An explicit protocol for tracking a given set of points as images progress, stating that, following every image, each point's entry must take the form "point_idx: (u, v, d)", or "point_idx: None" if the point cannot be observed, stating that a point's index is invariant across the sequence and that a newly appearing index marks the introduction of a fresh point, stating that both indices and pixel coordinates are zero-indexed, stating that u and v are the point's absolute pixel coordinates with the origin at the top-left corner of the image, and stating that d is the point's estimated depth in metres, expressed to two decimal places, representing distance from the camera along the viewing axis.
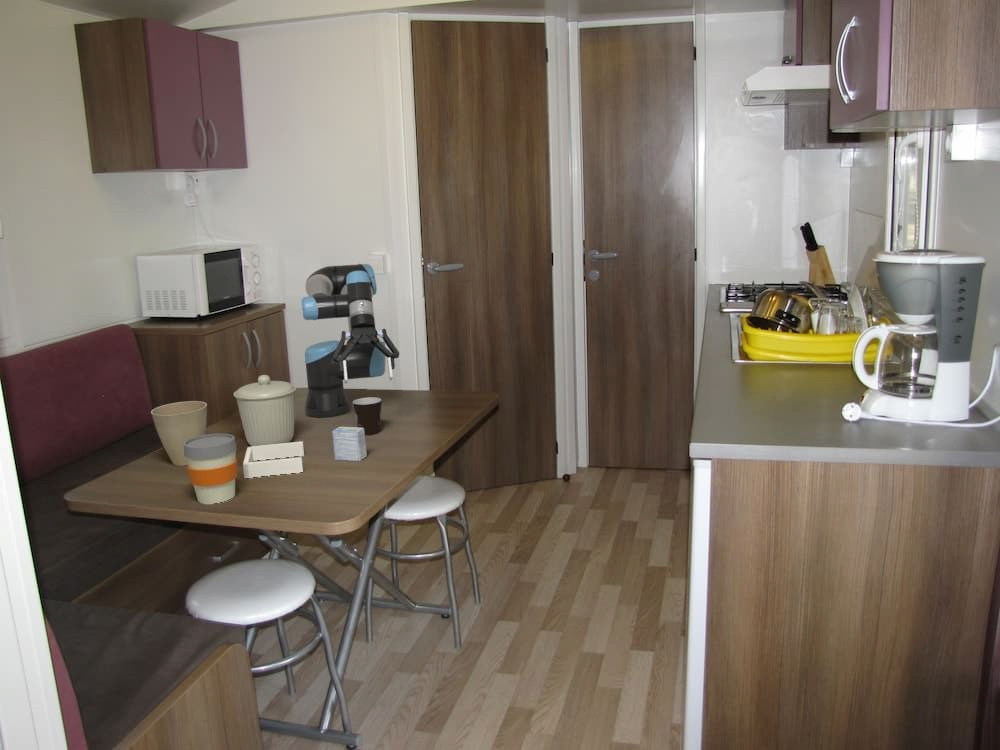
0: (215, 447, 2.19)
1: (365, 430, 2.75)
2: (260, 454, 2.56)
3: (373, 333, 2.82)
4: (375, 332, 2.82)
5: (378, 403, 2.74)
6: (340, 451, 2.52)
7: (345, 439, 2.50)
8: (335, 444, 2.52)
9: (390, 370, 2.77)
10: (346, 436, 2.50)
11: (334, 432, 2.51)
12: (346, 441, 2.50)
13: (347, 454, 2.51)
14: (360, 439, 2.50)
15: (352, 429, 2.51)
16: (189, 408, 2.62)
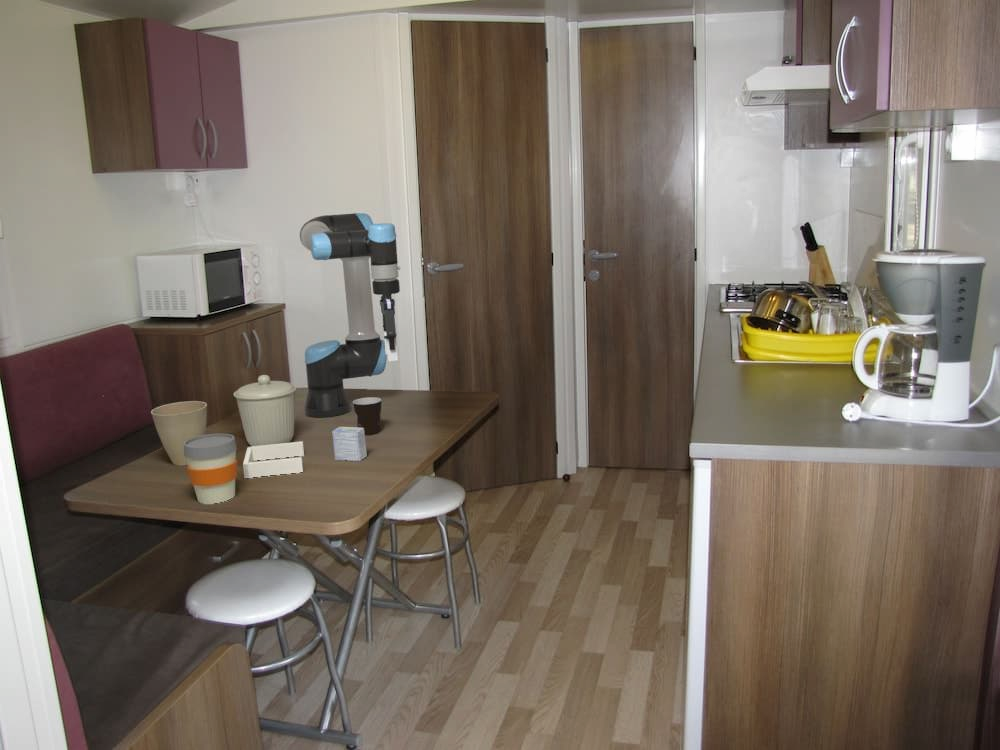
0: (215, 447, 2.19)
1: (365, 430, 2.75)
2: (260, 454, 2.56)
3: None
4: None
5: (378, 403, 2.74)
6: (340, 451, 2.52)
7: (345, 439, 2.50)
8: (335, 444, 2.52)
9: None
10: (346, 436, 2.50)
11: (334, 432, 2.51)
12: (346, 441, 2.50)
13: (347, 454, 2.51)
14: (360, 439, 2.50)
15: (352, 429, 2.51)
16: (189, 408, 2.62)
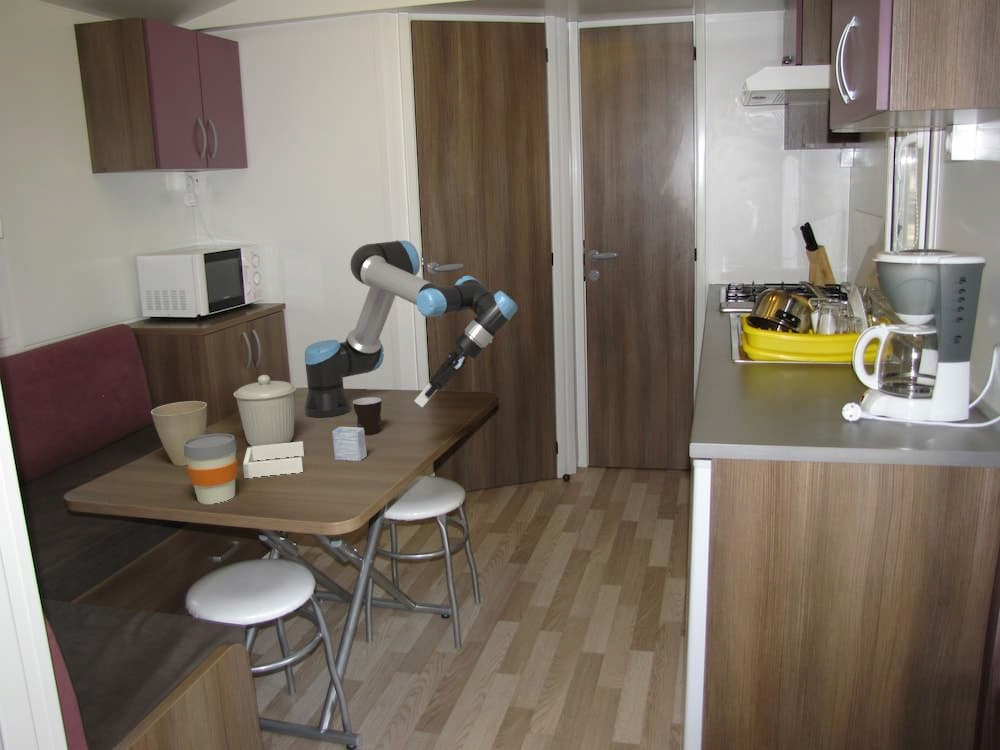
0: (215, 447, 2.19)
1: (365, 430, 2.75)
2: (260, 454, 2.56)
3: None
4: None
5: (378, 403, 2.74)
6: (340, 451, 2.52)
7: (345, 439, 2.50)
8: (335, 444, 2.52)
9: None
10: (346, 436, 2.50)
11: (334, 432, 2.51)
12: (346, 441, 2.50)
13: (347, 454, 2.51)
14: (360, 439, 2.50)
15: (352, 429, 2.51)
16: (189, 408, 2.62)
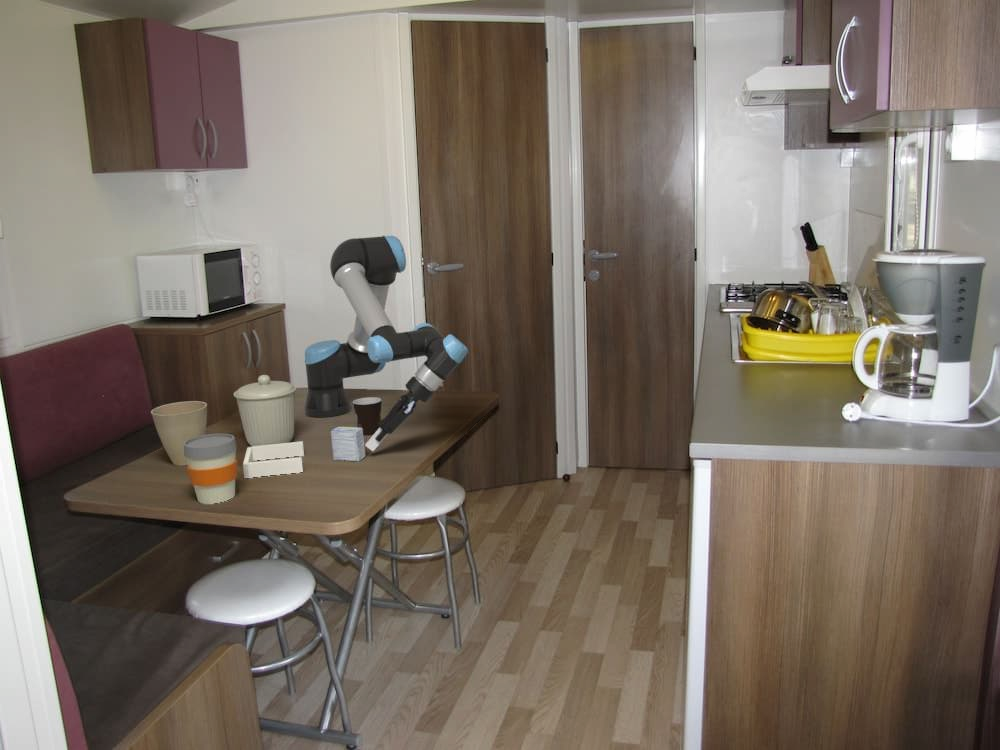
0: (215, 447, 2.19)
1: (365, 430, 2.75)
2: (260, 454, 2.56)
3: None
4: None
5: (378, 403, 2.74)
6: (338, 451, 2.52)
7: (344, 439, 2.50)
8: (334, 444, 2.52)
9: None
10: (345, 436, 2.50)
11: (333, 432, 2.51)
12: (345, 441, 2.50)
13: (346, 454, 2.51)
14: (358, 439, 2.50)
15: (351, 429, 2.51)
16: (189, 408, 2.62)
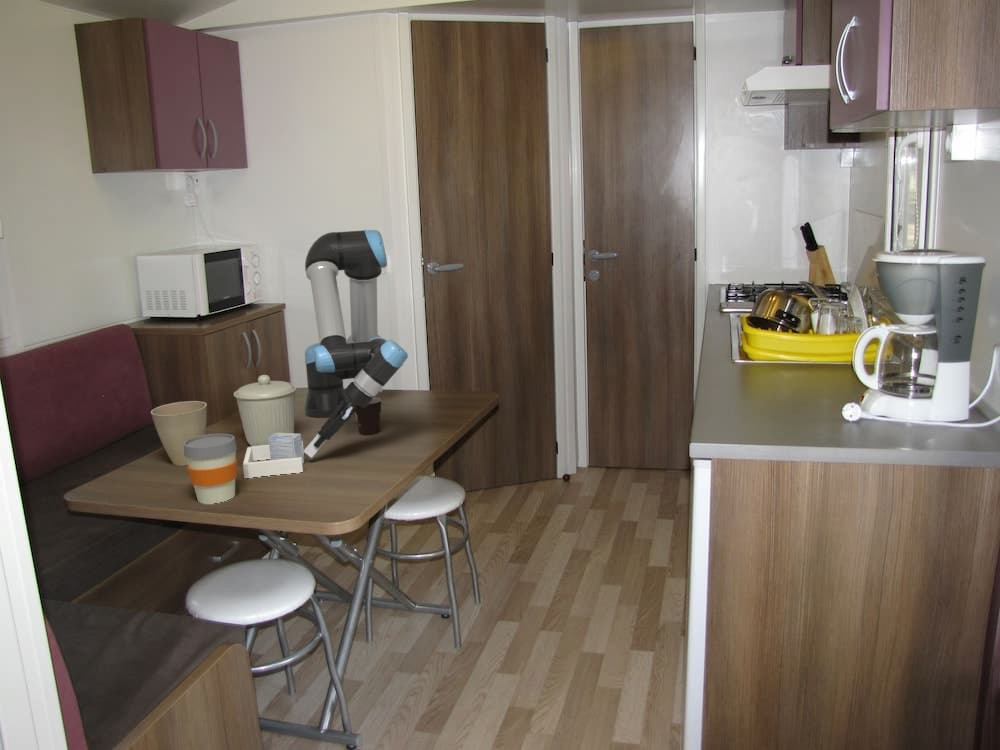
0: (215, 447, 2.19)
1: (365, 430, 2.75)
2: (260, 454, 2.56)
3: None
4: None
5: (378, 403, 2.74)
6: (276, 457, 2.49)
7: (281, 445, 2.47)
8: (271, 450, 2.49)
9: (316, 450, 2.51)
10: (282, 442, 2.47)
11: (270, 438, 2.48)
12: (282, 447, 2.47)
13: None
14: (296, 445, 2.47)
15: (288, 435, 2.48)
16: (189, 408, 2.62)
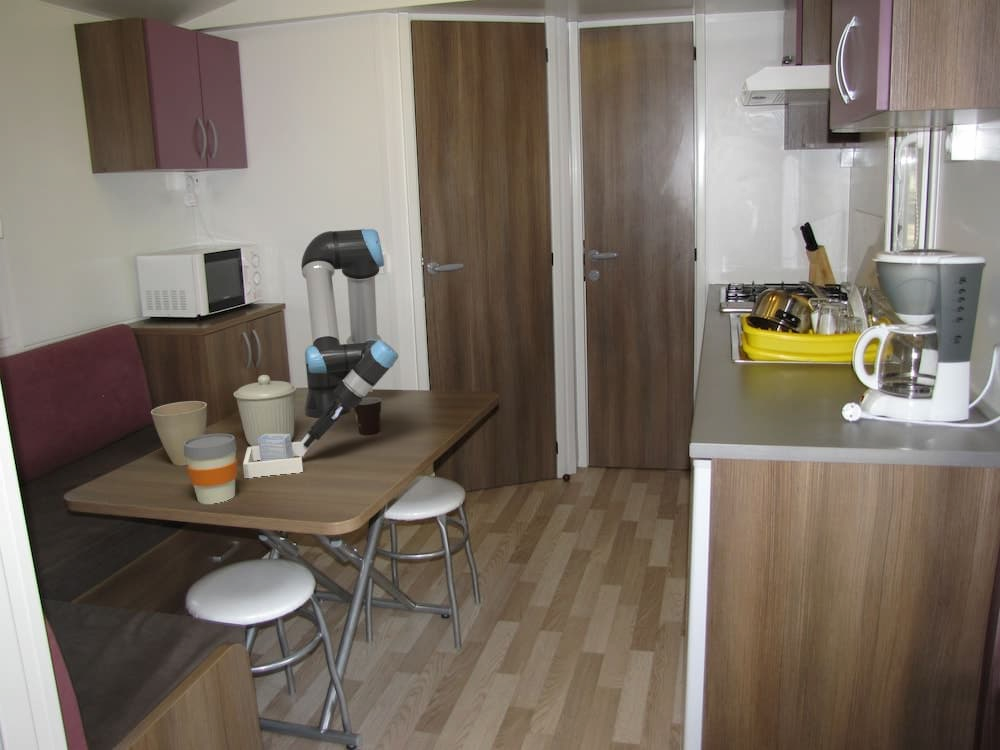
0: (215, 447, 2.19)
1: (365, 430, 2.75)
2: None
3: None
4: None
5: (378, 403, 2.74)
6: (266, 458, 2.48)
7: (272, 446, 2.47)
8: (261, 451, 2.48)
9: None
10: (273, 443, 2.47)
11: (260, 439, 2.47)
12: (273, 448, 2.47)
13: None
14: (287, 446, 2.48)
15: (278, 435, 2.48)
16: (189, 408, 2.62)
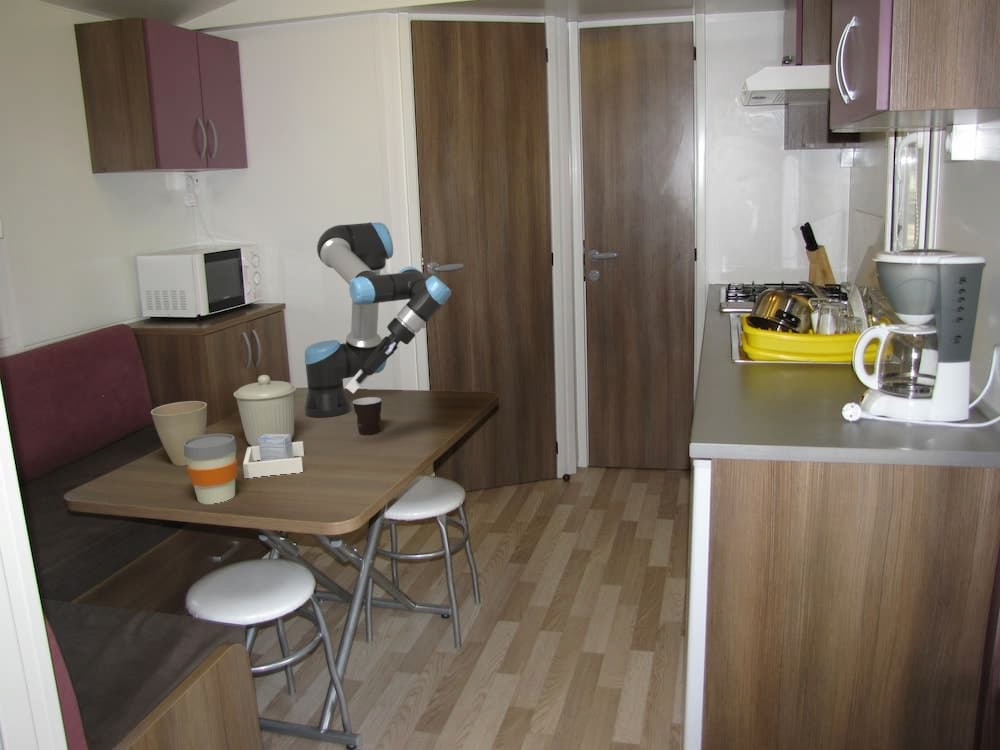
0: (215, 447, 2.19)
1: (365, 430, 2.75)
2: None
3: None
4: None
5: (378, 403, 2.74)
6: (266, 458, 2.48)
7: (272, 446, 2.47)
8: (261, 452, 2.48)
9: None
10: (273, 443, 2.47)
11: (260, 440, 2.47)
12: (273, 448, 2.47)
13: None
14: (287, 446, 2.48)
15: (278, 436, 2.48)
16: (189, 408, 2.62)
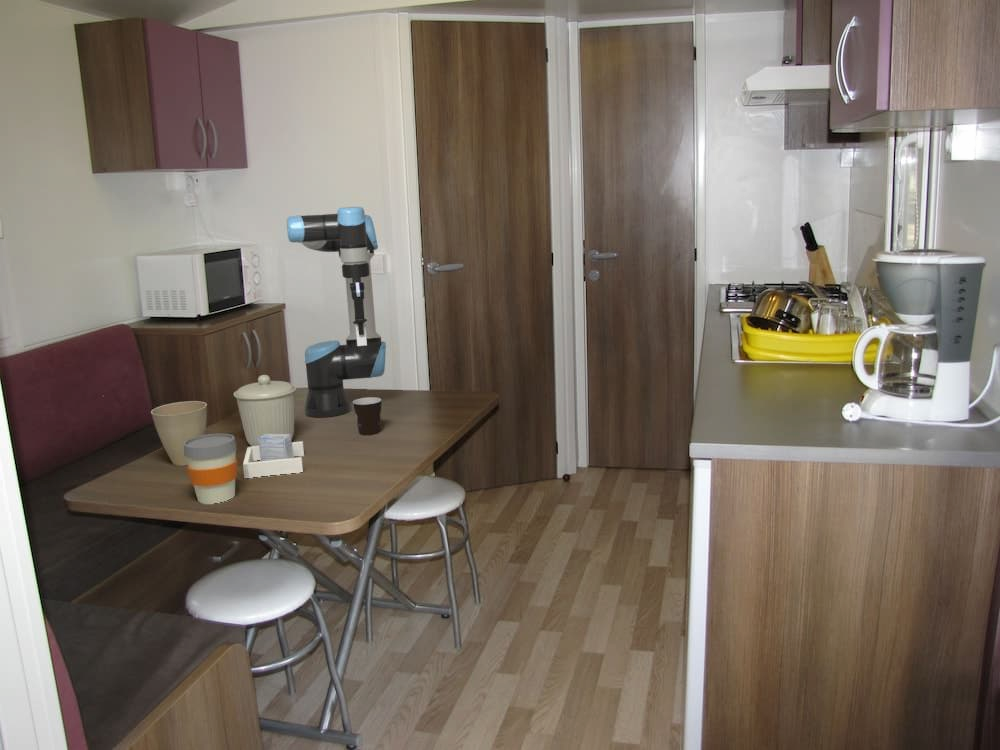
0: (215, 447, 2.19)
1: (365, 430, 2.75)
2: None
3: None
4: None
5: (378, 403, 2.74)
6: (266, 458, 2.48)
7: (272, 446, 2.47)
8: (261, 452, 2.48)
9: (366, 337, 2.61)
10: (273, 443, 2.47)
11: (260, 439, 2.47)
12: (273, 448, 2.47)
13: None
14: (287, 446, 2.48)
15: (278, 436, 2.48)
16: (189, 408, 2.62)
